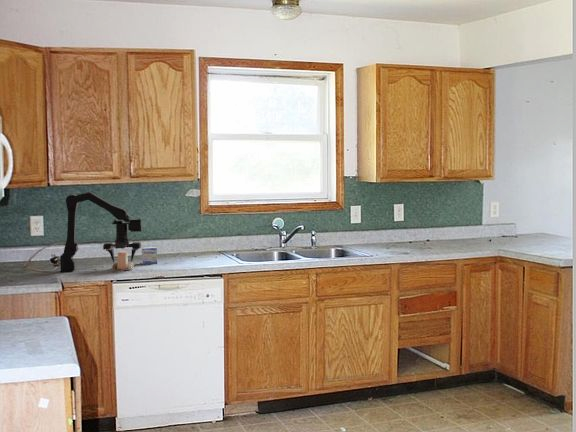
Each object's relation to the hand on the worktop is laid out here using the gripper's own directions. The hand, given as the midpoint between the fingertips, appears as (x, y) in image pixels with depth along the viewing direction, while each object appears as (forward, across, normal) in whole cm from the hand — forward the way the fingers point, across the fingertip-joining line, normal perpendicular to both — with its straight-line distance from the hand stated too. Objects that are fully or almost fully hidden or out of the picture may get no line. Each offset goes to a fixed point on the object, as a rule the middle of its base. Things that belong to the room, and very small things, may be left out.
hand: (122, 261), depth 359 cm
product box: (+3, 0, 0) cm, 3 cm away
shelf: (+4, 0, 0) cm, 4 cm away
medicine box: (+4, +12, +14) cm, 19 cm away
